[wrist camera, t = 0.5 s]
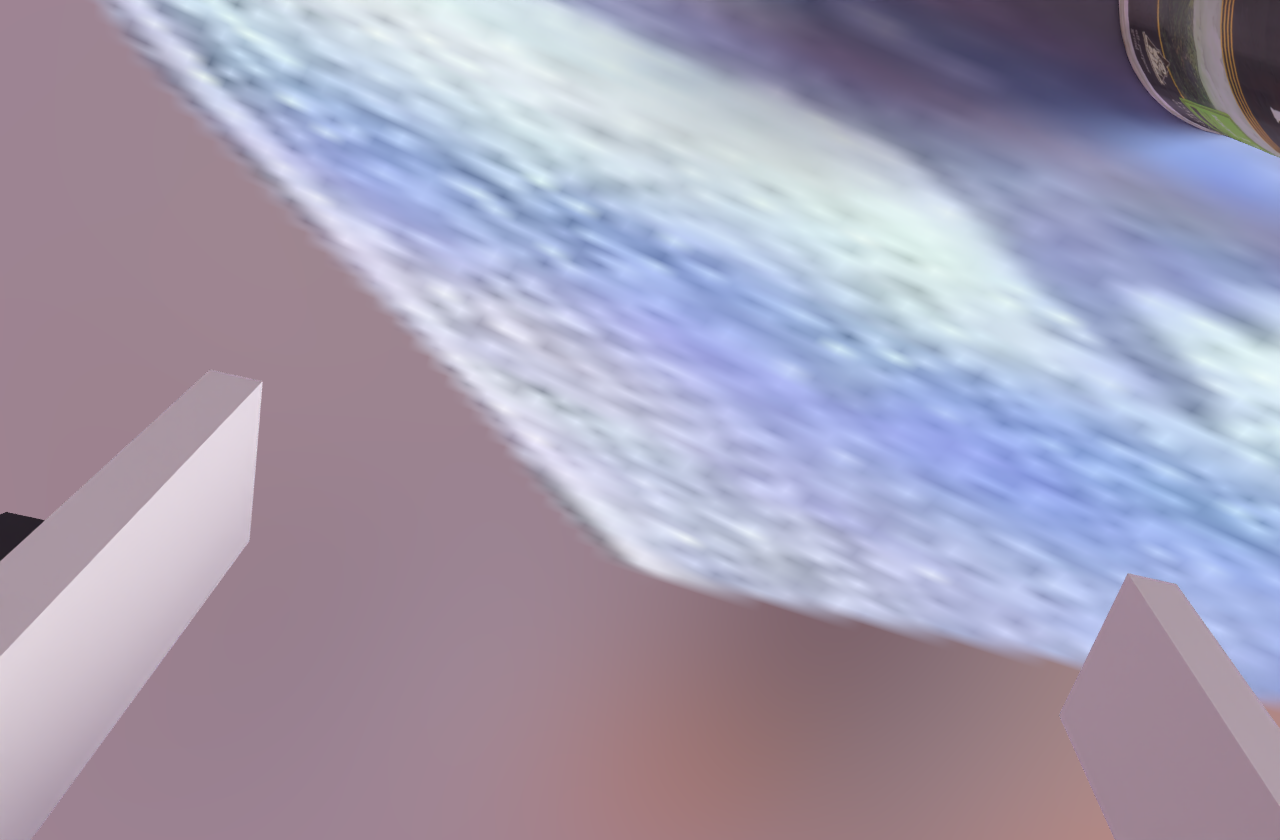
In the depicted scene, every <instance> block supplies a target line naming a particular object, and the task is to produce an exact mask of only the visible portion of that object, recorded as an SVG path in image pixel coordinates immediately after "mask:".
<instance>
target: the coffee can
mask: <svg viewBox="0 0 1280 840" xmlns="http://www.w3.org/2000/svg"><path fill="white" fill-rule="evenodd" d="M1119 16H1120V27H1121V33H1122V38H1123V41H1124V45H1125V49H1126V52H1127V56H1128V58H1129V61H1130V63H1131V65H1132V68H1133V70H1134V71H1135V73H1136V74H1137V76H1138V78H1139V80H1140V81H1141V83H1142V84H1143V86H1144V87H1145V88H1146V90H1147V91H1148V92H1149V93H1150V94H1151V96H1152V97H1153V98H1154V99H1155V100H1156V101H1157V102H1159V103H1160V104H1161V105H1162V106H1163V107H1164V108H1165V109H1166V110H1168V111H1169V112H1170V113H1172V114H1173V115H1175V116H1177V117H1178V118H1180V119H1182V120H1183V121H1185V122H1187V123H1189V124H1191V125H1193V126H1195V127H1197V128H1200V129H1202V130H1204V131H1209V132H1213V133H1217V134H1221V135H1225V136H1228V137H1230V138H1233V139H1235V140H1238V141H1240V142H1243V143H1245V144H1248V145H1250V146H1253V147H1255V148H1258V149H1260V150H1262V151H1264V152H1267V153H1269V154H1272V155H1274V156H1277V157H1280V0H1119Z"/></svg>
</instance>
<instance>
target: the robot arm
mask: <svg viewBox="0 0 1280 840" xmlns="http://www.w3.org/2000/svg"><path fill="white" fill-rule="evenodd" d="M261 394H262V381H259V380H254V379H250V378H246V377H241V376H236V375H231V374H228V373H223V372H219V371H214V370H209V371H208V372H207V373H206V374H205V375H204V376H203V377H202V378H200V379H199V380H198V381H197V382H196V383H195V384H194V385H193V386H192V387H191V388H190V389H188V390H187V391H186V392H185V393H184V394H183V395H182V396H181V397H180V398H179V399H178V400H176V401H175V402H174V403H173V404H172V405H171V406H170V407H169V408H168V409H166V410H165V411H164V412H163V413H162V414H161V415H160V416H159V417H158V418H157V419H156V420H155V421H153V422H152V423H151V424H150V425H149V426H148V427H147V428H146V429H145V430H143V431H142V432H141V433H140V434H139V435H138V436H137V437H136V438H135V439H134V440H133V441H131V442H130V443H129V444H128V445H127V446H126V447H125V448H124V449H123V450H122V451H120V452H119V454H117V455H116V456H115V457H114V458H113V459H112V460H111V461H110V462H109V463H107V464H106V465H105V466H104V467H103V468H102V469H101V470H100V471H99V472H98V473H97V474H95V475H94V476H93V477H92V478H91V479H90V480H89V481H88V482H87V483H85V485H83V486H82V487H81V488H80V489H79V490H78V491H77V492H76V493H75V494H74V495H72V496H71V497H70V498H69V499H68V500H67V501H66V502H65V503H64V504H63V505H61V507H59V508H58V509H57V510H56V511H55V512H54V513H53V514H52V515H50V516H49V517H48V518H47V519H46V520H41V519H36V518H32V517H27V516H22V515H17V514H13V513H8V512H5V513H3V514H0V840H31V839H32V838H33V837H34V835H35V834H36V833H37V831H38V830H39V828H40V827H41V826H42V824H43V823H44V821H45V820H46V819H47V817H48V816H49V815H50V813H51V812H52V811H53V809H54V808H55V806H56V805H57V804H58V802H59V801H60V800H61V798H62V797H63V796H64V794H65V793H66V791H67V790H68V789H69V787H70V786H71V785H72V783H73V782H74V780H75V779H76V778H77V776H78V775H79V774H80V772H81V771H82V769H83V768H84V767H85V765H86V764H87V763H88V761H89V760H90V758H91V757H92V756H93V754H94V753H95V752H96V750H97V749H98V748H99V746H100V745H101V743H102V742H103V741H104V739H105V738H106V736H107V735H108V734H109V732H110V731H111V730H112V728H113V727H114V725H115V724H116V723H117V722H118V720H119V719H120V717H121V716H122V715H123V713H124V712H125V711H126V709H127V708H128V706H129V705H130V704H131V702H132V701H133V699H134V698H135V697H136V695H137V694H138V693H139V691H140V690H141V689H142V687H143V686H144V685H145V683H146V682H147V680H148V679H149V678H150V676H151V675H152V673H153V672H154V671H155V669H156V668H157V667H158V665H159V664H160V663H161V661H162V660H163V658H164V657H165V656H166V654H167V653H168V652H169V650H170V649H171V647H172V646H173V645H174V643H175V642H176V641H177V639H178V638H179V637H180V635H181V634H182V632H183V631H184V630H185V628H186V627H187V625H188V624H189V623H190V621H191V620H192V619H193V617H194V616H195V615H196V613H197V611H198V610H199V609H200V608H201V606H202V605H203V604H204V602H205V601H206V599H207V598H208V597H209V595H210V594H211V593H212V591H213V590H214V589H215V587H216V586H217V584H218V583H219V582H220V580H221V579H222V578H223V576H224V575H225V573H226V572H227V571H228V569H229V568H230V567H231V565H232V564H233V563H234V561H235V560H236V558H237V557H238V556H239V554H240V553H241V552H242V550H243V549H244V547H245V546H246V545H247V543H248V542H249V539H250V527H251V515H252V503H253V491H254V479H255V478H254V477H255V467H256V454H257V442H258V430H259V417H260V405H261ZM1059 716H1060V718H1061V721H1062V723H1063V725H1064V727H1065V730H1066V732H1067V734H1068V736H1069V739H1070V741H1071V743H1072V745H1073V747H1074V750H1075V752H1076V754H1077V756H1078V759H1079V761H1080V763H1081V765H1082V767H1083V770H1084V772H1085V774H1086V776H1087V779H1088V781H1089V783H1090V785H1091V788H1092V790H1093V792H1094V794H1095V797H1096V799H1097V801H1098V803H1099V805H1100V808H1101V810H1102V812H1103V814H1104V816H1105V819H1106V821H1107V823H1108V826H1109V828H1110V830H1111V832H1112V834H1113V837H1114V839H1115V840H1280V729H1279V727H1278V726H1277V724H1276V723H1275V722H1274V720H1273V719H1272V718H1271V716H1270V715H1269V713H1268V712H1267V711H1266V709H1265V708H1264V706H1263V705H1262V703H1261V702H1260V701H1259V699H1258V698H1257V696H1256V695H1255V694H1254V692H1253V691H1252V689H1251V688H1250V687H1249V685H1248V684H1247V682H1246V681H1245V680H1244V678H1243V677H1242V675H1241V674H1240V673H1239V671H1238V670H1237V668H1236V667H1235V666H1234V664H1233V663H1232V661H1231V660H1230V659H1229V657H1228V656H1227V654H1226V653H1225V652H1224V650H1223V649H1222V647H1221V646H1220V645H1219V643H1218V642H1217V640H1216V639H1215V637H1214V636H1213V635H1212V633H1211V632H1210V630H1209V629H1208V628H1207V626H1206V625H1205V623H1204V622H1203V621H1202V619H1201V618H1200V616H1199V615H1198V614H1197V612H1196V611H1195V609H1194V608H1193V607H1192V605H1191V604H1190V602H1189V601H1188V600H1187V598H1186V597H1185V595H1184V594H1183V593H1182V591H1181V590H1180V588H1179V587H1178V586H1177V584H1173V583H1169V582H1164V581H1160V580H1155V579H1151V578H1146V577H1142V576H1137V575H1133V574H1127V576H1126V578H1125V580H1124V582H1123V584H1122V586H1121V589H1120V591H1119V593H1118V595H1117V597H1116V599H1115V601H1114V603H1113V605H1112V607H1111V609H1110V611H1109V613H1108V615H1107V617H1106V619H1105V621H1104V624H1103V626H1102V628H1101V630H1100V632H1099V634H1098V636H1097V638H1096V640H1095V642H1094V644H1093V646H1092V648H1091V650H1090V652H1089V654H1088V656H1087V659H1086V661H1085V663H1084V665H1083V667H1082V669H1081V671H1080V673H1079V675H1078V677H1077V679H1076V681H1075V683H1074V685H1073V687H1072V689H1071V692H1070V694H1069V696H1068V698H1067V700H1066V702H1065V704H1064V706H1063V708H1062V710H1061V712H1060V715H1059Z"/></svg>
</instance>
